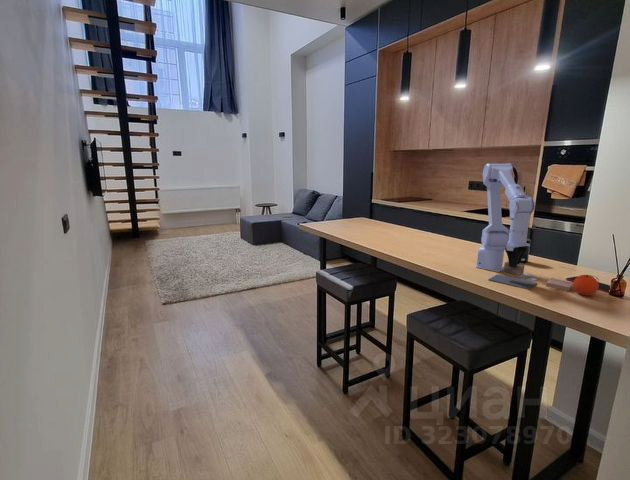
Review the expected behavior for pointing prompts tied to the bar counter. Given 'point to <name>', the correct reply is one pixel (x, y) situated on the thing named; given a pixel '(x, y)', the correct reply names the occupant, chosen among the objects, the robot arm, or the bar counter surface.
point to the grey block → (518, 272)
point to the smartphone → (601, 286)
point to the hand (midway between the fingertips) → (514, 266)
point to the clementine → (586, 284)
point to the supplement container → (526, 253)
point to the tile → (559, 284)
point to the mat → (513, 281)
